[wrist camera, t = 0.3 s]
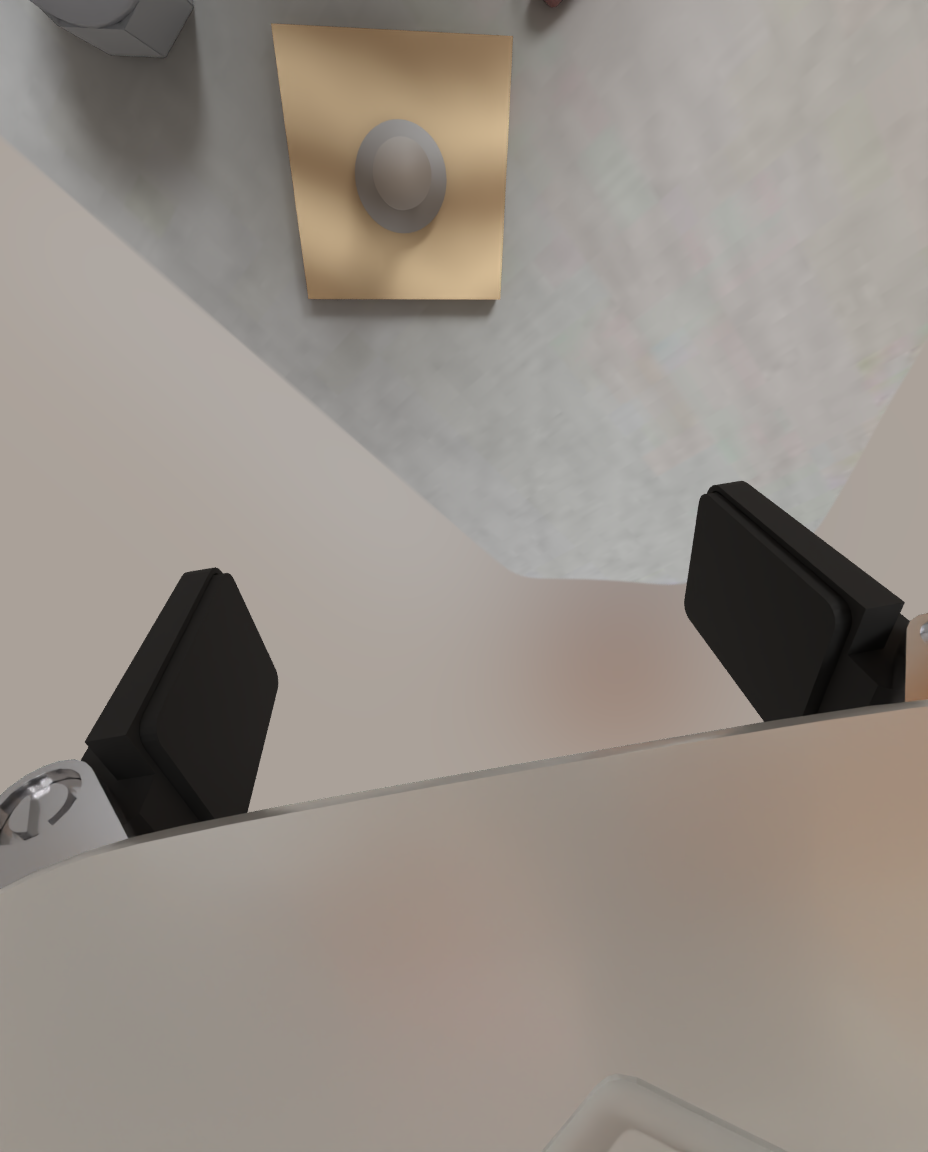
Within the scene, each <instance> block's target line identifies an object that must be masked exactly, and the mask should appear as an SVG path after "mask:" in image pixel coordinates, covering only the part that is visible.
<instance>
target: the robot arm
mask: <svg viewBox="0 0 928 1152" xmlns="http://www.w3.org/2000/svg"><path fill="white" fill-rule="evenodd" d="M684 605H685V611H686V614H687V616H688V618H689V620H690V621H691V622H692V623H693V625H694V626H695V628H696V629H697V630H698V632H699V633H700V635H701V636H702V637H703V638H704V640H705V641H706V643H707V644H708V646H709V647H710V648H711V650H712V651H713V652H714V654H715V655H716V656H717V658H718V659H719V660H720V662H721V663H722V665H723V666H724V667H725V669H726V670H727V672H728V673H729V674H730V675H731V677H732V678H733V680H734V681H735V682H736V684H737V685H738V686H739V688H740V689H741V691H742V692H743V693H744V695H745V696H746V697H747V699H748V700H749V701H750V703H751V704H752V706H753V707H754V708H755V710H756V711H757V713H758V714H759V715H760V717H761V718H762V719H763V721H764V722H762V723H756V724H750V725H744V726H738V727H732V728H726V729H720V730H714V731H709V732H702V733H697V734H691V735H685V736H679V737H673V738H667V739H661V740H655V741H649V742H643V743H638V744H631V745H625V746H620V747H614V748H608V749H602V750H596V751H591V752H585V753H579V754H573V755H567V756H562V757H556V758H550V759H544V760H538V761H533V762H527V763H521V764H515V765H510V766H504V767H498V768H493V769H487V770H481V771H475V772H470V773H464V774H458V775H453V776H447V777H442V778H436V779H430V780H424V781H419V782H413V783H408V784H402V785H396V786H391V787H385V788H380V789H375V790H369V791H363V792H357V793H352V794H346V795H341V796H335V797H330V798H324V799H318V800H313V801H308V802H302V803H296V804H290V805H285V806H280V807H275V808H270V809H265V810H260V811H255V812H249V813H247V812H248V807H249V803H250V799H251V795H252V791H253V787H254V783H255V779H256V775H257V771H258V767H259V762H260V758H261V754H262V750H263V746H264V742H265V738H266V734H267V730H268V726H269V722H270V718H271V714H272V710H273V705H274V701H275V697H276V693H277V689H278V676H277V672H276V669H275V667H274V665H273V662H272V660H271V658H270V656H269V654H268V652H267V650H266V648H265V645H264V643H263V641H262V639H261V637H260V634H259V632H258V630H257V628H256V626H255V624H254V622H253V619H252V618H251V615H250V613H249V611H248V609H247V607H246V605H245V602H244V600H243V598H242V596H241V594H240V592H239V589H238V587H237V585H236V583H235V581H234V579H233V577H232V576H231V575H230V574H229V573H224V574H223V573H222V572H221V571H220V570H219V569H218V568H216V567H215V568H209V569H203V570H198V571H191V572H187V573H184V574H183V576H182V577H181V579H180V580H179V582H178V584H177V586H176V587H175V589H174V591H173V592H172V594H171V596H170V598H169V599H168V601H167V603H166V604H165V606H164V608H163V610H162V611H161V613H160V615H159V616H158V618H157V620H156V621H155V623H154V625H153V626H152V628H151V630H150V632H149V633H148V635H147V637H146V638H145V640H144V642H143V643H142V645H141V647H140V649H139V650H138V652H137V654H136V655H135V657H134V659H133V661H132V662H131V664H130V666H129V667H128V669H127V671H126V673H125V674H124V676H123V678H122V679H121V681H120V683H119V685H118V686H117V688H116V689H115V691H114V693H113V695H112V696H111V698H110V700H109V701H108V703H107V705H106V706H105V708H104V710H103V712H102V713H101V715H100V717H99V719H98V720H97V722H96V724H95V725H94V727H93V729H92V731H91V732H90V734H89V735H88V737H87V739H86V741H85V743H86V744H87V745H88V749H87V751H86V752H85V754H84V756H83V757H82V759H81V761H79V760H75V759H74V760H64V761H58V762H55V763H52V764H49V765H46V766H43V767H41V768H39V769H37V770H35V771H33V772H31V773H29V774H27V775H25V776H24V777H23V778H21V779H20V780H18V781H17V782H16V783H14V784H13V785H12V786H10V787H9V788H7V790H5V791H4V792H3V793H2V794H1V795H0V1152H928V613H926V614H921V615H918V616H916V617H915V618H913V619H912V620H911V621H909V620H908V619H906V618H905V617H904V616H903V615H901V614H900V612H901V609H902V607H903V605H904V601H902V600H901V599H900V598H898V597H897V596H896V595H894V594H893V593H892V592H890V591H889V590H888V589H887V588H885V587H884V586H882V585H881V584H880V583H878V582H877V581H876V580H875V579H873V578H872V577H871V576H869V575H868V574H867V573H865V572H864V571H863V570H861V569H860V568H859V567H857V566H856V565H855V564H854V563H852V562H851V561H849V560H848V559H847V558H846V557H844V556H843V555H842V554H840V553H839V552H838V551H836V550H835V549H833V548H832V547H831V546H830V545H828V544H827V543H826V542H824V541H823V540H822V539H821V538H819V537H818V536H817V535H815V534H814V533H813V532H811V531H810V530H809V529H807V528H806V527H805V526H803V525H802V524H801V523H799V522H798V521H797V520H795V519H794V518H793V517H791V516H790V515H789V514H788V513H786V512H785V511H784V510H782V509H781V508H780V507H778V506H777V505H776V504H774V503H773V502H772V501H770V500H769V499H768V498H766V497H765V496H764V495H762V494H761V493H760V492H758V491H757V490H756V489H754V488H753V487H752V486H751V485H749V484H748V483H746V482H744V481H737V482H731V483H725V484H719V485H713V486H712V487H710V488H709V490H708V492H707V494H704V495H702V496H701V498H700V500H699V505H698V512H697V519H696V526H695V532H694V539H693V546H692V553H691V559H690V566H689V573H688V580H687V586H686V593H685V601H684Z"/></svg>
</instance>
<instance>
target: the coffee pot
mask: <svg viewBox="0 0 928 1152" xmlns="http://www.w3.org/2000/svg"><path fill="white" fill-rule="evenodd" d="M544 1H545V2H546V3H547V4H548V5H549V6H550V7H553V8H555V7H556V6H557V5H558V4H559V3H560V2H561V1H562V0H544Z"/></svg>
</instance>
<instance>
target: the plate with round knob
mask: <svg viewBox="0 0 928 1152" xmlns="http://www.w3.org/2000/svg"><path fill="white" fill-rule="evenodd" d="M271 27H272V34H273V41H274V49H275V56H276V63H277V71H278V78H279V85H280V93H281V100H282V108H283V115H284V122H285V130H286V137H287V144H288V152H289V159H290V166H291V174H292V181H293V189H294V196H295V203H296V211H297V218H298V225H299V233H300V240H301V247H302V255H303V262H304V270H305V277H306V284H307V292H308V299H500V291H501V271H502V250H503V229H504V209H505V188H506V167H507V147H508V126H509V105H510V85H511V64H512V43H513V36H500V35H481V34H462V33H443V32H424V31H405V30H386V29H367V28H348V27H329V26H310V25H292V24H273V23H271Z"/></svg>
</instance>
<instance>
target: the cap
mask: <svg viewBox="0 0 928 1152" xmlns="http://www.w3.org/2000/svg"><path fill="white" fill-rule="evenodd" d="M30 1H31V2H33V3H34V4H35V5H37V6H38V7H39V8H40V9H41V10H42V11H43V12H44V13H45V14H46V15H47V16H49V17H50V18H51V19H52V20H53V21H54V22H55V23H56V24H57V25H58V26H59V27H61V28H63V29H65V30H66V31H68V32H70V33H72V34H74V35H75V36H77V37H79V38H81V39H82V40H84V41H86V42H88V43H90V44H91V45H93V46H95V47H97V48H99V49H100V50H102V51H104V52H106V53H108V54H109V55H116V56H138V57H160V58H165V57H166V56H167V54H168V52H169V50H170V49H171V47H172V45H173V43H174V41H175V40H176V38H177V36H178V34H179V32H180V31H181V29H182V27H183V25H184V23H185V22H186V20H187V18H188V16H189V14H190V13H191V11H192V9H193V1H192V0H30Z"/></svg>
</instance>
